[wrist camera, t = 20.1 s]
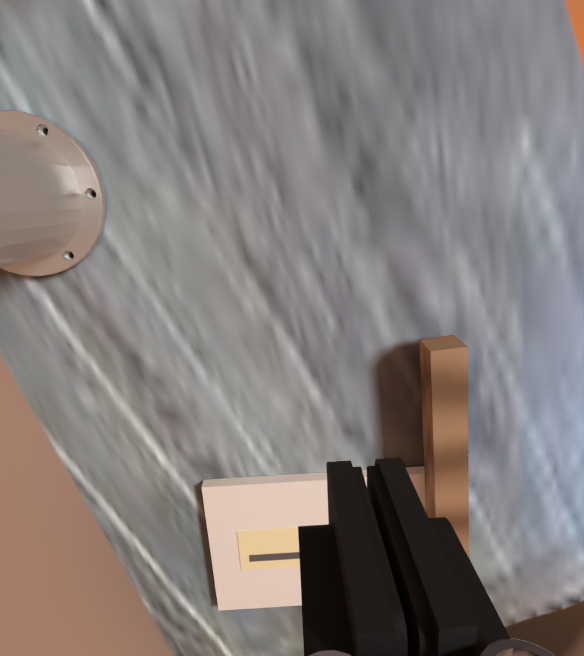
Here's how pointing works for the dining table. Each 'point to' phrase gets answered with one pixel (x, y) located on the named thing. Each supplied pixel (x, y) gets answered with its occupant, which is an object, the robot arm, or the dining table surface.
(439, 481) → the bar
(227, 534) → the label plate
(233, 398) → the dining table surface
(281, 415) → the dining table surface
